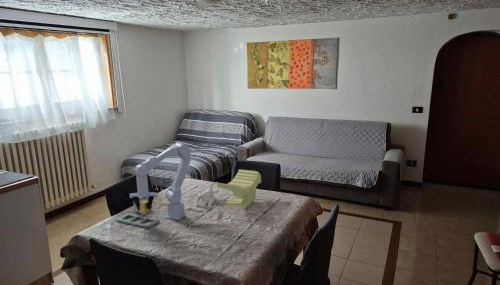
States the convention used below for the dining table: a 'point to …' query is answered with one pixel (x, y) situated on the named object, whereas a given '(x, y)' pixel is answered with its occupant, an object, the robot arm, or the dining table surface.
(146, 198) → the medicine box
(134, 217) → the grey grid frame
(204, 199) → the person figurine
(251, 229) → the dining table surface
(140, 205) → the mustard tan rectangular block
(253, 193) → the slatted curved stool
